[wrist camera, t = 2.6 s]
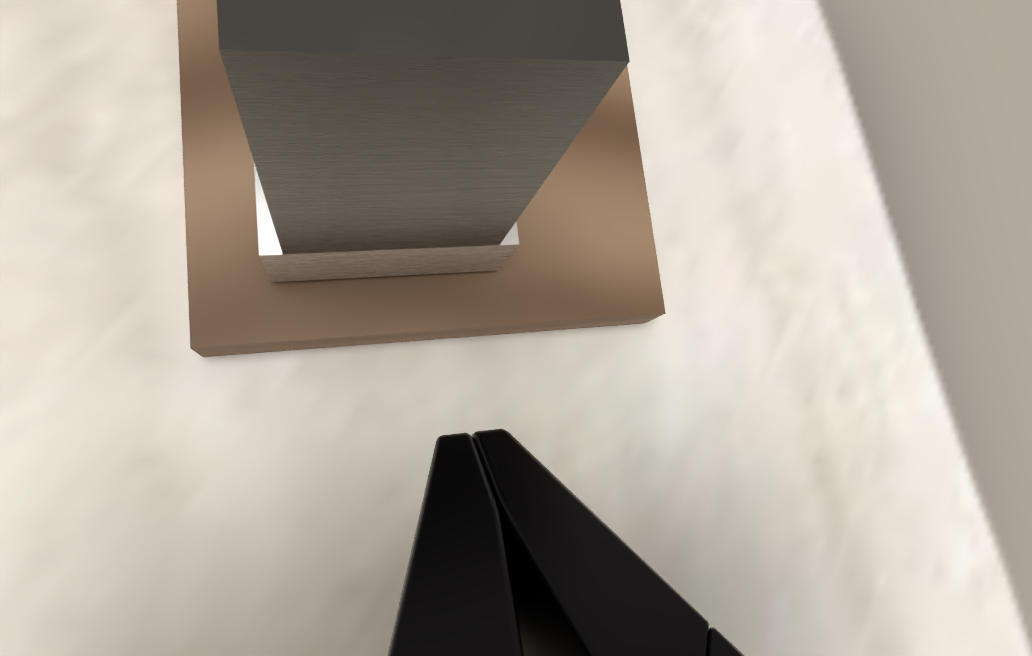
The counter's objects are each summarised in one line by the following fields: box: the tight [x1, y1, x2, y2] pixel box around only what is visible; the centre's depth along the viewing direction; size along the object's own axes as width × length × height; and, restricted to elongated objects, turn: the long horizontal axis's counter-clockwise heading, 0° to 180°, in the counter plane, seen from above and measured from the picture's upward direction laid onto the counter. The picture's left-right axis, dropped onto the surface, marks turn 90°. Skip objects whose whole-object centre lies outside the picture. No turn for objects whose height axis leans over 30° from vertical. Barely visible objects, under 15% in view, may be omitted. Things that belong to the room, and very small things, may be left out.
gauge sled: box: [217, 0, 630, 282], centre depth 14 cm, size 6×7×10 cm
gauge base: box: [177, 0, 665, 357], centre depth 18 cm, size 13×13×8 cm
